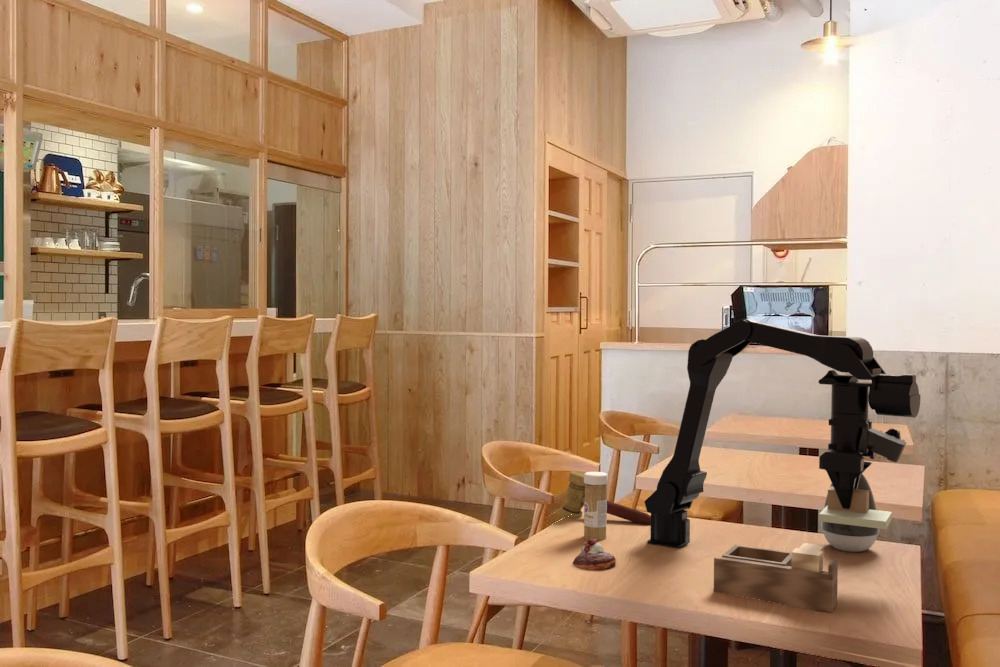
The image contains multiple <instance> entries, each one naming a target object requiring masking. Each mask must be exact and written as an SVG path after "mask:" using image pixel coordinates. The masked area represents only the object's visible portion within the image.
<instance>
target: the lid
mask: <svg viewBox="0 0 1000 667" xmlns="http://www.w3.org/2000/svg"><path fill="white" fill-rule="evenodd" d="M827 494H828V505H827V506H826V507H825V508H824V507H823V508H824V509H822V510H821V511H820V512H819V513H818V522H820V523H821V522H830V523H838V524H846V525H854V526H863V527H871V528H879V530H880V529H881V530H886V529H887V528H888V526H889V525H890V523H891V521H892V519H893V512H892V511H887V510H886V511H885V510H878V509H877V510H870V509H869V490H861V489H854V491H853V496H852V501H851V506H850V508H849V509H844V508H842V505H841V503H840V501H839V498H838V496H837V494H836V491H835V489H834V487H830V486H829V487H828V489H827Z"/></svg>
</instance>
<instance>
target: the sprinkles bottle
mask: <svg viewBox="0 0 1000 667" xmlns="http://www.w3.org/2000/svg"><path fill="white" fill-rule="evenodd" d="M584 473H585V474H584V483H585V503H584V505H583V513H584V514H583V527H584V528H583V530H584V531H583V538H585V539H586V540H588V541H589V540H590V539H597V541H604V540H606V539H607V524H608V522H607V521H608V519H607V518H608V513H607V501H608V498H607V494H608V492H607V491H608V490H607V486H608V480H609V479H608V473H606V472H603V471H587V472H584Z"/></svg>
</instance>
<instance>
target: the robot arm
mask: <svg viewBox="0 0 1000 667" xmlns="http://www.w3.org/2000/svg"><path fill="white" fill-rule="evenodd" d="M752 343H754V344H758V345H762V346H765V347H769V348H774V349H777V350H782V351H786V352H789V353H794V354H798V355H802V356H807V357H809V358H811V359H812V360H815V361H816V362H818V363H820V364H821V365H823V366H826V367H827V368H830V369H832V370H828V371H827V372H826V374H825V375H824V376H823V377H822V378H820V379H819V380H818V382H817V383H818V384H819V385H827V386H828V385H830V386H831V402H830V404H831V405H830V407H831V409H830V418H829V419H828V426H830V442H829V443H828V444H827V450H826V451H824V452H823V453H822V454H821V455H820V456H818V458H819V459H818V467H819V468H818V469H819V470H824V471H825V472H826V473H827V475H828V478H829V480H830V482H831V483H832V484H833V487H834V489H835V491H836V494H837V496H838V498H839V501H840V503H841V505H842V508H844V509H849V508H850V506H851V501H852V496H853V491H854V489H857V488H858V484H859V480H860V476H861V474H863V473H864V472H865V471H866V470H867V469H868V468H869V467H870V466H871V465H872V464H873V463H872V462H870V461H865V457H868V458H869V459H870V460H875V458H877V455H879V456H881V457H883V458H886V459H887V460H888V461H890V462H893V463H898V462H899V461H900V459H901V456H902V454H903V452H904V449H905V447H906V444H907V441H905V440H904V439H901V437H902V436H901V431H900V430H898V429H895V428H892V427H891V428H888V430H887V431H885V432H884V431H882V430H879V429H875V428H873V421H872V420H871V418H869V407H870V409H871V410H874V411H875V414H876V415H878V416H886V417H887V416H888V417H900V418H901V417H902V418H914V419H916V417H917V416H918V414H919V412H920V407H921V394H920V391H919V385H918V383H917V376H916V375H915V374H901V375H900V374H887V373H886V372H885V370H884V369H883V368H882V366H881V365H880V363H879V362H878V361H877V359H876V358H875V356H874V350H873V347H872V345H871V344H870V342H869V341H868V340H867V339H866V338H863V337H859V336H846V335H845V336H844V335H843V336H841V335H821V334H820V335H819V334H814V333H811V332H805V331H802V330H798V329H793V328H788V327H784V326H780V325H777V324H776V325H775V324H770V323H766V322H762V321H759V320H757V319H755V318H740V319H738V320H736V321H735V322H734V323H732V324H731V325H729V326H728V327H726V328H723V329H722V330H720V331H718V332H717V333H714V334H712V335H710V336H709V337H708V338H703V339H698V340H696V341H694V342H693V343H691V345H690V346H689V349H688V352H687V366H686V369H687V370H686V371H687V376H688V380H689V389H688V393H687V397H686V402H685V406H684V410H683V413H682V418H681V422H680V426H679V431H678V434H677V437H676V438H677V439H676V443H675V448H674V451H673V456H672V458H670V460H669V461H668V463H667V464H666V466H665V468H664V469H663V471H662V473H661V475H660V478H659V480H658V482H657V485H656V490H655V491H654V492H652V493H651V494H650V495H649V497H647V499H645V500H644V505H645V510H646V512H647V513H648V514H650V516H651V525H650V539H648V540H647V541H646V542H647V543H646V544H647V545H656V546H662V547H669V548H675V549H676V548H677V549H681V548H682V547H683V546H685V545H686V544H688V543H689V542H690V541H691V539H690V538H691V536H690V534H691V532H690V530H691V520H690V518H688V510H690V509H691V507H692V504H693V502H694V501H695V500H696V499H698V497H699V496H700V494H701V493H703V492H704V483H705V480H706V478H707V476H708V475H707V474H708V473H707V471H703V470H701V467H700V463H699V462H700V460H699V459H700V455H701V451H702V447H703V443H704V439H705V435H706V430H707V426H708V422H709V417H710V414H711V410H712V405H713V401H714V397H715V393H716V389H717V387H718V386H719V385H720V383H721V382H722V381H723V379H724V378H725V376H726V375H727V373H728V370H729V368H730V366H731V363H732V361H733V358H734V357H735V356H737V355H738V354H740V353H742V352H743V351H744V350H746V348H747V347H748V346H749V345H750V344H752ZM836 371H837V372H840V373H849V375H846V374H839V373H837V372H836ZM860 380H861V381H860ZM863 380H864V381H863ZM867 381H871V382H867Z"/></svg>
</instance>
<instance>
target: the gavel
mask: <svg viewBox="0 0 1000 667" xmlns="http://www.w3.org/2000/svg"><path fill="white" fill-rule="evenodd" d="M585 473H586V472H583V471H580V470H579V471H578V470H571V471H570V472H569V476H568V482H569V484H568V486H567V491H566V495H565V498H564V503H563V505H562V506H561V508H560V512H559V517H562V518H565V519H579V518H580V519H581V518H582V517H583V511H582V509H583V508H584V503H585V483H584V474H585ZM571 514H572V515H571ZM607 515H611V516H615V517H618V518H620V519H623V520H627V521H629V522H632V523H636V524H638V523H639V525H645V526H646V525H650V526H651V514H650V513H648V512H647V513H646V512H644V511H642V510H641V511H640V510H637V509H634V508H631V507H629V506H625V505H623V504H622V505H621V504H619V503H616V502H612V501H610V500H607ZM568 516H569V517H568Z"/></svg>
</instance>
